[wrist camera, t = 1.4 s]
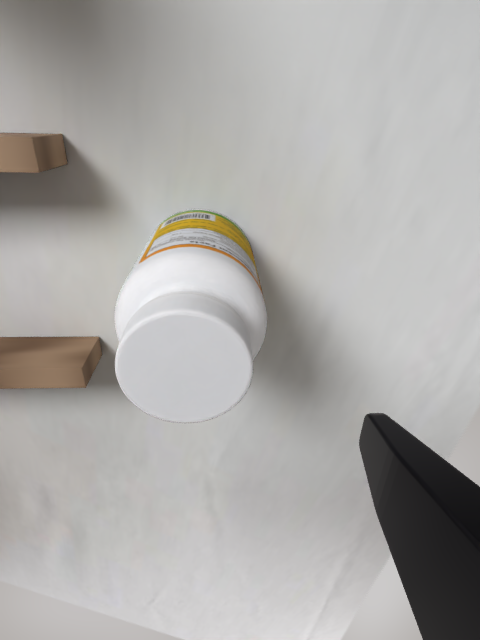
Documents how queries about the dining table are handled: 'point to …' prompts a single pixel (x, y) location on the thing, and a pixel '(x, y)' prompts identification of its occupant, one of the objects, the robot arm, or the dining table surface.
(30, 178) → the dining table surface
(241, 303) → the supplement bottle
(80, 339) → the bay
